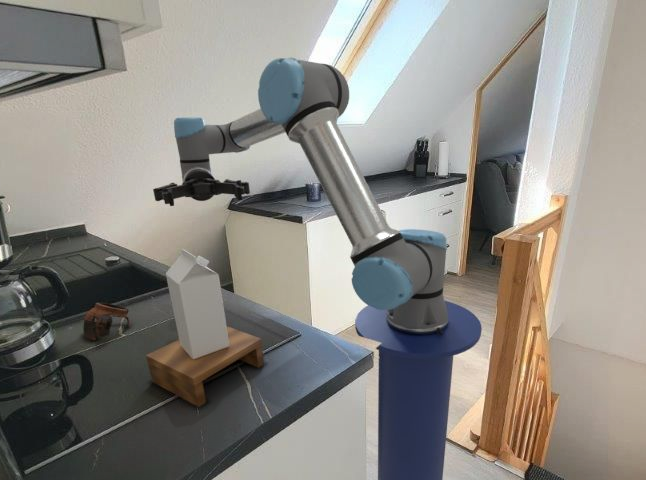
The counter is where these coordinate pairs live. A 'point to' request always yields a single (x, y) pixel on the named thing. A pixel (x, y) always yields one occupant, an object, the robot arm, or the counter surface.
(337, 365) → the counter surface
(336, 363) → the counter surface
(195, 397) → the oak shelf
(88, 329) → the pottery mug
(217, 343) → the milk carton
